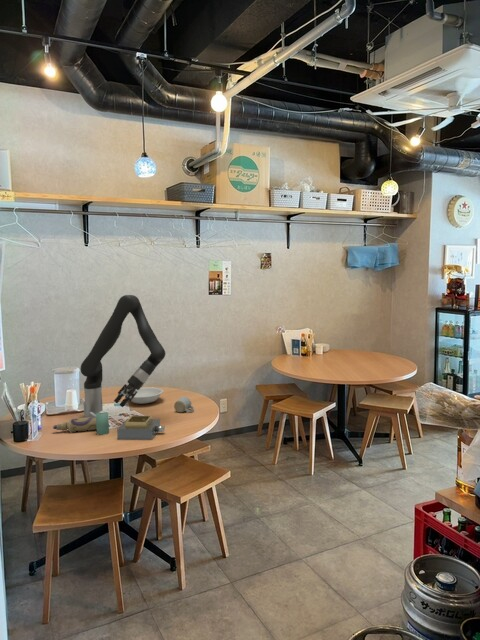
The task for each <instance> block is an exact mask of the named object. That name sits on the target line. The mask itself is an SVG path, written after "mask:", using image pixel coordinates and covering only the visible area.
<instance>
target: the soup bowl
mask: <svg viewBox="0 0 480 640" xmlns="http://www.w3.org/2000/svg"><path fill="white" fill-rule="evenodd" d="M136 391H137V394H136V395H135V396H134V398H133V399H132V400H131V401H130V402H132V403H134V404H142V405H143V404H150V403H153V402H155V401H157V400H158V399H159V398H160V396H161V395H162V394H163V393H164V390H163V389H162V388H159V387H152V386H147V387H146V386H145V387H141V388H140V389H139V390H137V389H136ZM130 399H131V398H130Z"/></svg>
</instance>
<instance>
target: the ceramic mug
mask: <svg viewBox="0 0 480 640" xmlns="http://www.w3.org/2000/svg"><path fill="white" fill-rule="evenodd" d="M173 405H174V406H173V407H174V411H176V412H178V413H184V412H187V413H193V412H194V410H195V408H194V407H193V405H192V402H191V399H190V398H189V397H188V396H186V395H185V396H181V397H180V398H179V399H178V400H176V401H175V402H174V404H173Z"/></svg>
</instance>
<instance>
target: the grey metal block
mask: <svg viewBox="0 0 480 640" xmlns="http://www.w3.org/2000/svg"><path fill="white" fill-rule="evenodd" d="M160 421H161V419H160V418H153V415H130V417H129V418H127V419H125V420H124V421H123V422H122V424H121V425H119V426H118V428H116V429H117V432H116V433H117V434H116V435H117V436H116V437H117V440H153V439H154V438H155V436H156V435H157V434H158V433H161V432H162V433H163V432H164V433H165V430H166V427H165V425H161V422H160Z"/></svg>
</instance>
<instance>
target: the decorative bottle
mask: <svg viewBox="0 0 480 640" xmlns="http://www.w3.org/2000/svg"><path fill="white" fill-rule="evenodd" d="M52 429H54V430H56V431H59V430H60V431H69V432H70V433H76V431H78V432H84V431H85V432H86V431H87V430H88V431H95V430H96V431H97V428H96V418H95V417H87V418H84V417H80V418H70V420H69V421H68V422H63V423H57V424H55V425H53V426H52ZM88 431H87V432H88Z"/></svg>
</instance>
